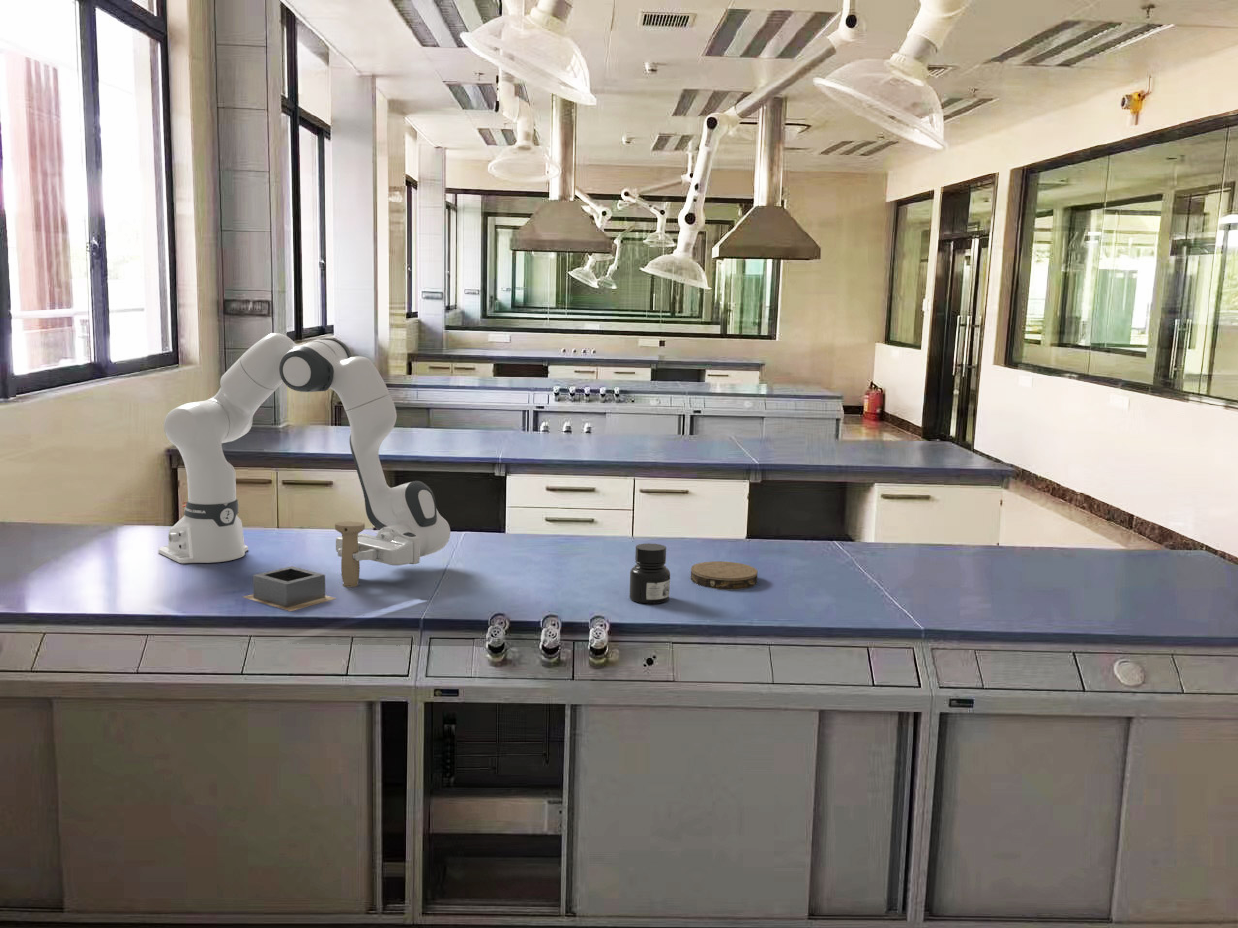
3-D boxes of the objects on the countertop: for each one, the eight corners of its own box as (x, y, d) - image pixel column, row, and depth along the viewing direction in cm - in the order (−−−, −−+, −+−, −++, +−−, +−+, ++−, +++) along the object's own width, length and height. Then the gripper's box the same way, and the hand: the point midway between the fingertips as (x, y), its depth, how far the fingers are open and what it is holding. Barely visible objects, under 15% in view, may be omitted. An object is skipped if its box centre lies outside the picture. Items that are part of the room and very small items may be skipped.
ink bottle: (655, 607, 227) (657, 554, 226) (621, 600, 232) (622, 548, 230) (677, 597, 236) (679, 545, 234) (643, 591, 240) (645, 540, 238)
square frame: (253, 597, 223) (253, 575, 222) (292, 588, 231) (291, 566, 230) (286, 607, 217) (286, 584, 216) (325, 597, 225) (324, 574, 224)
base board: (242, 601, 224) (242, 596, 224) (289, 589, 234) (288, 585, 233) (290, 615, 215) (290, 611, 215) (336, 602, 225) (336, 598, 224)
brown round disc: (700, 570, 261) (701, 558, 261) (763, 577, 256) (764, 565, 256) (682, 585, 247) (683, 573, 246) (748, 593, 241) (749, 581, 241)
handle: (360, 592, 232) (359, 526, 230) (332, 591, 233) (331, 525, 231) (368, 587, 237) (367, 522, 235) (341, 585, 238) (340, 520, 236)
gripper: (363, 524, 250) (316, 534, 239) (424, 537, 238) (378, 548, 227) (363, 550, 251) (316, 561, 240) (424, 564, 239) (378, 576, 228)
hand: (347, 555), depth 233 cm, fingers closed on handle, 3 cm apart
